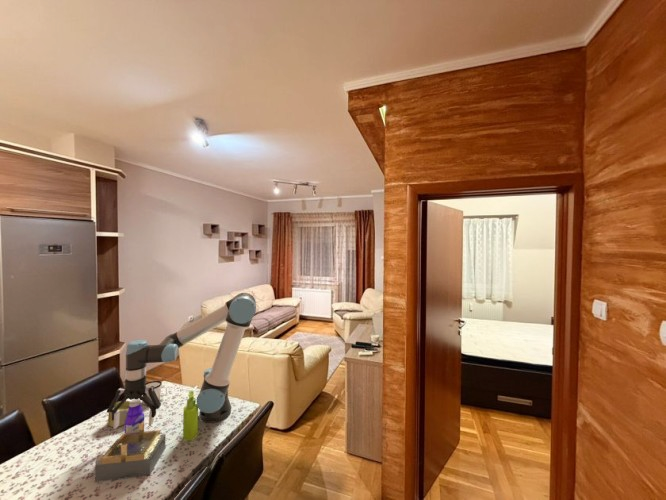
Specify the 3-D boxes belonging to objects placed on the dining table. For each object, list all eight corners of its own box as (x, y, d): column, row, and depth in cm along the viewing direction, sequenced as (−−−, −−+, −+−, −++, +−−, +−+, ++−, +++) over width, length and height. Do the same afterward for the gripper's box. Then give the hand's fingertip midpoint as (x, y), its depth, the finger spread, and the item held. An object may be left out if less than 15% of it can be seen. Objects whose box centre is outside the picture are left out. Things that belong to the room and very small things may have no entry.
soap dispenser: (182, 443, 119) (184, 397, 120) (182, 434, 126) (183, 390, 126) (198, 439, 122) (199, 394, 122) (197, 430, 128) (198, 387, 128)
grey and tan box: (165, 447, 117) (166, 419, 117) (149, 476, 102) (150, 443, 102) (109, 453, 113) (110, 424, 113) (84, 483, 98) (85, 450, 98)
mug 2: (139, 407, 146) (139, 390, 146) (142, 398, 155) (143, 382, 155) (165, 402, 151) (165, 386, 151) (167, 394, 160) (168, 378, 160)
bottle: (132, 448, 116) (133, 406, 116) (121, 445, 118) (122, 405, 118) (146, 436, 124) (147, 397, 124) (136, 434, 125) (137, 396, 125)
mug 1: (97, 422, 130) (108, 400, 132) (120, 417, 139) (129, 397, 141) (111, 435, 125) (122, 412, 127) (134, 429, 134) (143, 408, 136)
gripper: (170, 371, 127) (168, 418, 127) (108, 374, 122) (106, 422, 122) (163, 379, 119) (161, 428, 119) (97, 382, 115) (95, 433, 114)
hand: (133, 425), depth 120 cm, fingers open, 13 cm apart
